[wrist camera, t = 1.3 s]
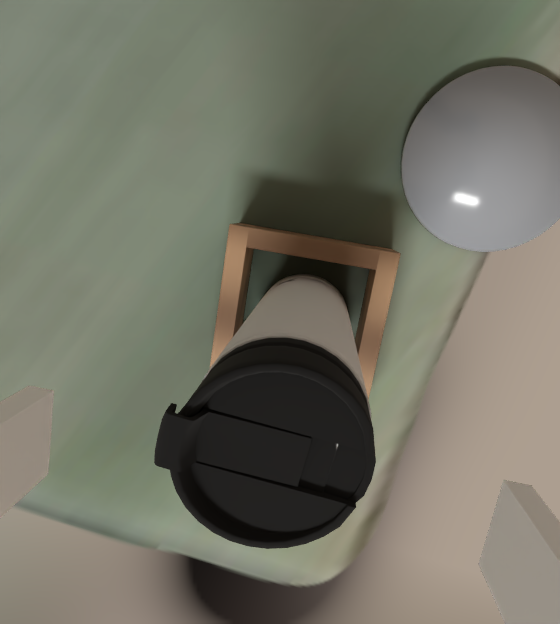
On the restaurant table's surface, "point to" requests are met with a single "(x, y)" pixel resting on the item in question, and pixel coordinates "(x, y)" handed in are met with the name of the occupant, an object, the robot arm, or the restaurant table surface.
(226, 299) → the brown open square frame
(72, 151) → the restaurant table surface
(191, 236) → the restaurant table surface
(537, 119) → the grey round disc
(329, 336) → the travel mug
